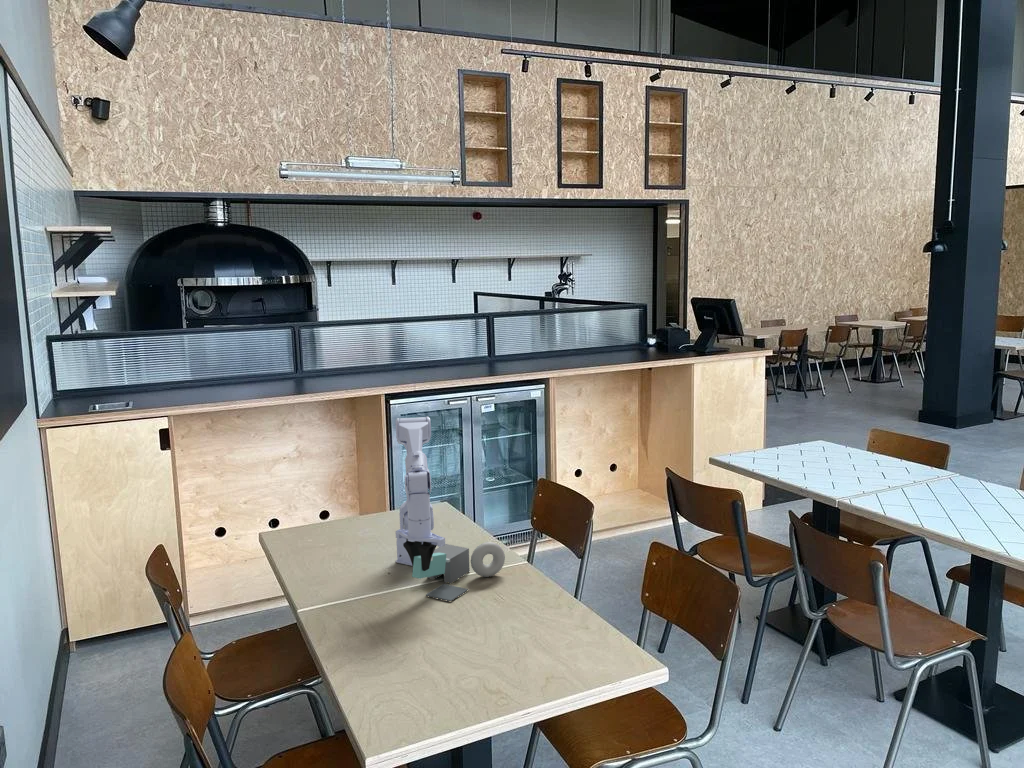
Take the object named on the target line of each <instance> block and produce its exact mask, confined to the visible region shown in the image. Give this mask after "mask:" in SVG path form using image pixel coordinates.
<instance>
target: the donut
mask: <svg viewBox="0 0 1024 768" xmlns="http://www.w3.org/2000/svg"><path fill="white" fill-rule="evenodd" d="M487 555H492V561H491V562H490V563H488V564H486V563H484V561H483V560H484V558H485V557H486V556H487ZM505 562H506V555H505V551H504V549H503V547H502V546H501V545H500V544H498V543H497V542H494V541H485V542H482V543H480V544H479V545H477V546H476V547H475V549H473V552H472V554H471V556H470V566H471V569H472V570H473V572H474V573H476V575H477V576H479V577H483V578H486V577H487V578H489V576H490V577H493V576H495V575H497V574H498V573H500V571H501V570H502V568H503V567H504V566H505V565H504V564H505Z"/></svg>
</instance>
